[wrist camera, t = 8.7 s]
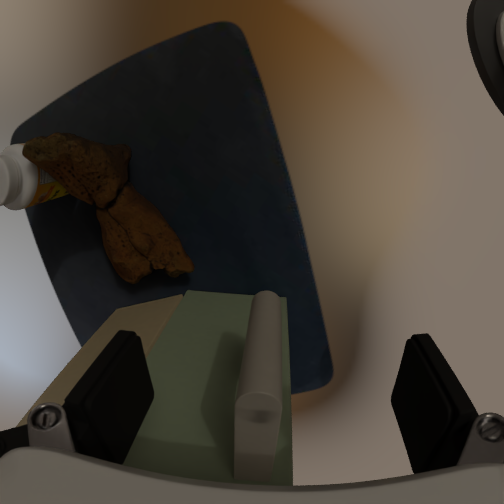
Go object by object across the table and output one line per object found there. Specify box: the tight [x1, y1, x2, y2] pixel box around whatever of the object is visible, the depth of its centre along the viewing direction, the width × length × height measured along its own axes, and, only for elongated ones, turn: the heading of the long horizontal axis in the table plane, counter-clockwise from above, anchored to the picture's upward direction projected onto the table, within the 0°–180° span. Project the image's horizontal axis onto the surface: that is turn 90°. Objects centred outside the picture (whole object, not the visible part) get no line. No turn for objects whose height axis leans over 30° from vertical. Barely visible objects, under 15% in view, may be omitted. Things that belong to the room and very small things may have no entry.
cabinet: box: [16, 294, 183, 427], centre depth 18 cm, size 8×9×31 cm
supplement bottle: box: [0, 143, 69, 210], centre depth 23 cm, size 6×6×10 cm
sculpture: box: [22, 133, 194, 284], centre depth 24 cm, size 8×10×15 cm
